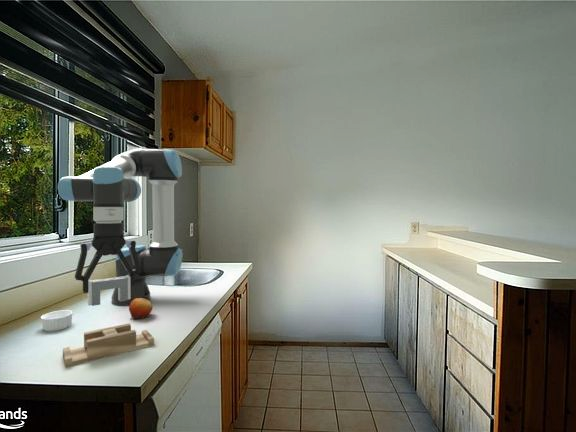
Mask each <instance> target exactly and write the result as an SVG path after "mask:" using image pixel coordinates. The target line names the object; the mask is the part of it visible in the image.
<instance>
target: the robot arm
mask: <svg viewBox="0 0 576 432" xmlns="http://www.w3.org/2000/svg"><path fill="white" fill-rule="evenodd" d="M182 166H183V165H182V161H181V157H180V155H179V153H178V152H177V151H176V150H175V149H166V148H138V149H137V148H136V149H135V148H134V149H132V150H128V151H125V152H122V153H120V154H117V155H115V156H114V157H113V158H112V159H111V161H108V162H106V163H104V164H102V165H100V166H96V167H94V169H93V168H92V170H89V171H88V172H85V173H83V174H81V175H78V176H73V175H70V176H63V177H61V178H60V179H59V181H58V183H57V191H58V195H59V197H60V198H61V199H62V200H64V201H67V202H68V201H69V202H93V204H92V205H93V208H92V211H93V215H92V219H93V220H92V221H94V224H93V226H92V227H93V237H92V238H93V239H92V241H89V242H80V244H79V246H80V255H79V258H78V262H77V267H76V271H75V273H74V279H75V280H76V281H80V282H82V292H83V293H84V294H86V295H87V298H86V299H87V301H86V303H87V305H88V306H92V281H91V280H92V279H90V278H91V276H92V275H93V273H94V271H95V269H96V267H97V265H98V263H99V262H100V260H101V258H102V257H103V256H104V257H107V256H109V255H110V256H115V260H114V261H115V277H123V276H126V277H127V278H128V300H127V301H119V300H118V288H114V289H113V292H112V295H111V304H113V305H116V306H130V304H131V302H132V301H133V300H134V299H136V298H144V299H146V300H148V301H149V300H150V299H151V292H150V288H149V286H148V283H147V277H174V276H176V275H178V273H179V271H180V269H181V267H182V262H183V250H182V249H181V248H179V244H178V243H177V242H176V240H175V185H176V184H177V183H178V178H180V177H182V175H183V167H182ZM131 177H132V178H131ZM133 177H141V178H142V177H148V182H149V183H150V184H151V188H152V189H151V190H152V191H151V193H152V242H151V243H150V244H149V245H148V246H149V247H148V248H147V246H146V244H143V245H141V244H138V245H136V244H137V242H136V241H135V240H133V239H131V240H130V239H129V240H126V239H125V231H124V230H125V229H124V228H125V225H124V222H123V221H124V217H125V214H124V203H130V202H134V201H136V200H137V199H138V198H140V196H141V195H142V194H141V193H142V187H141V185H140V183H139V182H138V181H137V180H135V179H133ZM125 245H126V247H124V246H125ZM91 247H93V249H94V250H96V251H95V253H94V256H93V258H92V259H91V261H90V263H89V265H88V267H87V269H86V270H85V272H84V274H83V271H84V267H85V263H86V259H87V256H88V251H90V249H91Z"/></svg>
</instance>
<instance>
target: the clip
mask: <svg viewBox="0 0 576 432" xmlns="http://www.w3.org/2000/svg"><path fill="white" fill-rule="evenodd" d="M90 280H91V281H92V305H91V306H92V307H94V306H95V307H96V306H100V305H101V291H105V290H114V289H115V288H118V300H119V301H127V300H128V278H127V277H126V276H123V277H116V276H115V277H107V278H99V279H97V278H96V279H90Z"/></svg>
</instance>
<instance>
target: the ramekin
mask: <svg viewBox="0 0 576 432" xmlns="http://www.w3.org/2000/svg"><path fill="white" fill-rule="evenodd" d="M40 320H41V326H42V329H43V331H46V332H53V331H54V332H55V331H60V330H64V329H67V328H68V327H70V326H71V325H72V321H73V311H72V310H69V309H62V310H61V309H60V310H53V311H51V312H48V313H44V314H42V315H41V316H40Z"/></svg>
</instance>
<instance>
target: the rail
mask: <svg viewBox="0 0 576 432" xmlns="http://www.w3.org/2000/svg"><path fill="white" fill-rule="evenodd" d="M151 346H155V338H154V336H153V335H152V334H151V333H150V332H149V331H148V330H147V329H144V330H141V334H137V331H136V330H135V329H132V325H131V323H130V322H129V323H125V324H119V325H115V326H110V327H105V328H99V329H95V330H90V331H84V332H83V347H79V348H78V347H77V348H75V349H74V348H73V349H71V348H70V346H67V347H63V348H62V356H63V363H64V367H65V368H67V367H72V366H74V365H80V364H83V363H87V362H91V361H95V360H100V359H103V358H108V357H112V356H115V355H119V354H124V353H127V352H131V351H135V350H139V349H144V348H146V347H151Z"/></svg>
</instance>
